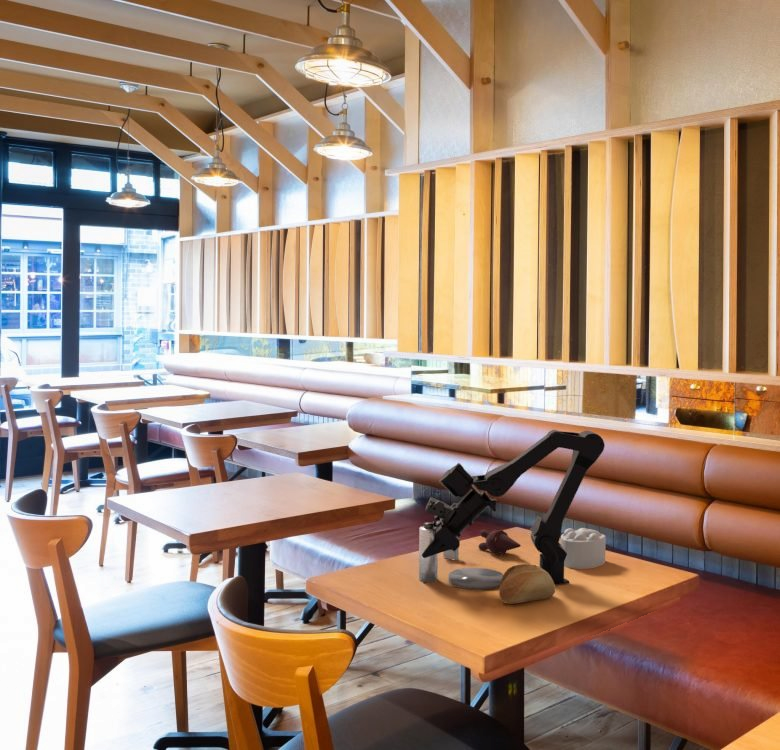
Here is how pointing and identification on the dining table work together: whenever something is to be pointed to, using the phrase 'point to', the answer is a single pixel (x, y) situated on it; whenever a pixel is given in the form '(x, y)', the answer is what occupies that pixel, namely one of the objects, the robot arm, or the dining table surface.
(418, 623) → the dining table surface
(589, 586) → the dining table surface
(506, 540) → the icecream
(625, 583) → the dining table surface
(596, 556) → the lumpy-topped squat cylinder
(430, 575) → the pepper mill
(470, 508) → the robot arm
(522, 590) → the bread roll
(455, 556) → the lighter
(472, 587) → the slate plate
